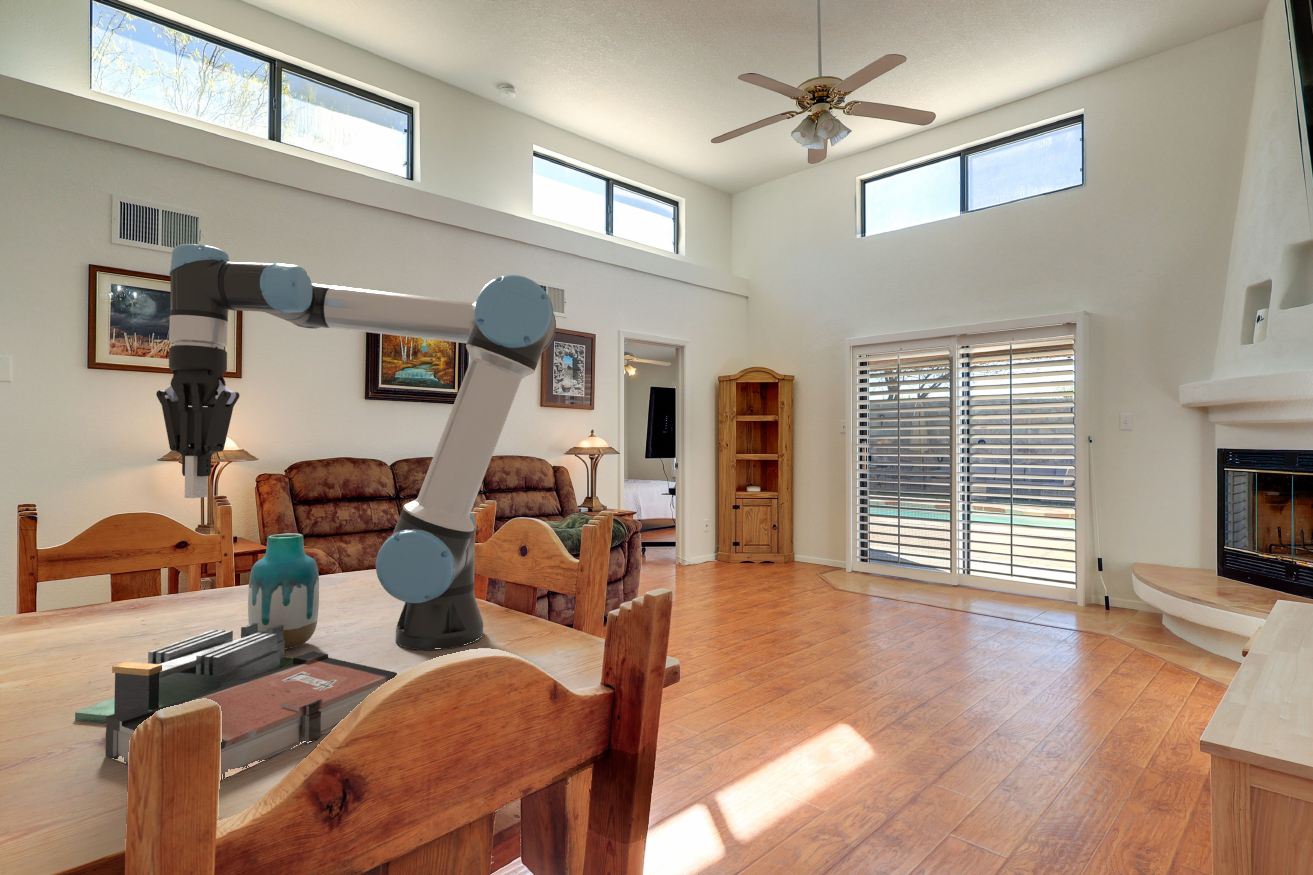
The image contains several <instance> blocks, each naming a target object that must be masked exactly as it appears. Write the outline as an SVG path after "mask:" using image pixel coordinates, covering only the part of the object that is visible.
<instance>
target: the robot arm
mask: <svg viewBox="0 0 1313 875" xmlns="http://www.w3.org/2000/svg"><path fill="white" fill-rule="evenodd" d="M170 262H171V263H170V269H169V273H168V274H169V278H170V312H169V313H170V315H169V328H168V329H169V331H168V341H169V342H170V343H172V344H173V345H171V346H170V347H168V368H169V370H171V371H172V374H173V375H172V377H171V380H170V386H168V388H165V390H157V391H156V394H155V395H156V398H157V400H158V401H159V403H160V405H161V409H162V414H163V418H164V423H165V424H164V425H165V429H166V435H167V441H168V445H169V449H170V451H171V452H177V453H179V454H180V455H181V458H182V459H181V460H182V461H181V462H182V463H181V475H182V476H183V477H184V499H197V498H199V499H200V498H207V497H208V484H209V480H208V479H209V477H210V476H211V473H212V456H213V455H214V454H216V453H218V452H223V451H224V449H225V445H226V441H227V436H228V432H229V429H230V428H229V427H230V423H231V419H232V416H233V410H234V407H235V405H236V403H237V402H238V400H239V399H240V396H241V395H240V393H239V392H238V391H234V390H233V391H232V390H231V389H229V388H228V387H227V386H226V385H227V384H226V380H225V379H224V374H225V373H226V372H227V371H228V352H227V350H225V349H224V348H225V347H227V346H228V321H229V319H228V318H229V317H228V316H229V311H234V312H235V311H237V312H239V311H243V312H245V311H246V312H260V313H261V312H262V313H266V314H269V315H271V316H274V317H277V318H279V319H281V320H284V321H286V322H288V323H289V322H290V323H292V324H293V325H295V326H297V327H301V328H305V329H314V330H315V329H320V328H323V329H324V328H325V329H328V328H329V329H336V330H338V329H339V330H346V331H354V332H364V333H372V334H379V335H380V334H382V335H389V336H390V335H392V336H397V337H398V336H399V337H405V338H406V337H408V338H416V339H417V338H418V339H426V340H435V341H441V342H442V341H443V342H444V341H445V342H452V343H460V344H466V345H465V347H466V348H465V349H466V350H467V352H468V354H469V357H470V362H469V364H468V367H467V369H466V371H465V374H464V376H463V380H462V382H461V385H460V386H459V387H460V388H459V389H458V392H457V395H456V397H455V400H454V403H453V405H452V408H451V411H450V413H449V415H448V418H447V420H446V423H445V425H444V428H443V431H442V434H441V435H440V436H441V437H440V439H439V441H438V444H437V447H436V449H435V451H434V455H433V457H432V459H431V462H430V464H429V466H428V470H427V472H426V475H425V477H424V480H423V482H422V485H421V488H420V490H419V493H418V495H417V498H416V499H414V500H412V501H410V502H407V503H405V504H404V505H403V507H402V509H401V512H400V514H399V516H398V520H397V522H396V524H395V527H394V529H393V532H392V535H390V536H388V538H387V539H386V540H385V541H384V542H383V544H382V545H381V546H380V549H379V550H378V553H377V556H376V558H375V571H376V578H377V579H378V580H379V584H380V585H381V586H382V588H383V590H385V592H386V593H387V594H389V595H390V596H391V597H392V598H395V599H396V600H398V601H401V602H403V603H404V604H403V607H402V610H401V612H400V615H399V618H398V621H397V624H396V627H395V643H396V644H398V645H399V646H400V647H403V648H407V649H414V650H425V649H426V651H427V649H435V648H441V649H440V650H446V649H445V648H447V649H453V648H459V647H463V646H465V645H464V644H467V643H470V642H473V641H475V640H476V639H478V638H480V637H481V636H482V635H483V636H484V620H483V618H482V614H481V611H480V609H479V606H478V602H477V599H476V595H475V557H476V556H475V555H476V553H475V550H476V545H475V544H476V543H475V542H476V531H477V526H476V518H475V515H474V514H473V512H472V509H473V507H474V505H475V502H476V499H477V497H478V494H479V491H480V489H481V486H482V484H483V481H484V478H485V476H486V474H487V470H488V467H489V465H490V463H491V460H492V457H493V455H494V452H495V449H496V447H497V444H498V442H499V439H500V436H501V434H502V431H503V429H504V426H505V424H506V421H507V418H508V416H509V413H510V411H511V408H512V406H513V402H514V400H515V397H516V395H517V392H518V390H519V387H520V385H521V382H522V380H523V379H524V378H526V377H528V376H530V375H532V374H534V373H535V371H536V369H537V366H538V363H539V361H540V358H541V356H542V354H543V352H544V351H545V350H547V349H548V348H549V346H550V344H552V342H553V339H554V337H555V335H556V330H557V321H556V317H555V312H554V307H553V303H552V300H551V297H550V295H549V294H548V293H547V292H546V291H545V289H544V288H542V286H540V285H539V284H538V283H537V282H536V281H534V280H533V279H531V278H528V277H526V276H524V275H518V274H506V275H502V276H499V277H497V278H494V279H492V280H490V281H489V282H488V283H486V284H485V285H484V286H483V288H482V289H481V290H480V292H479V293H478V295H477V298H476V301H468V300H467V301H466V300H460V299H450V298H442V297H434V296H433V297H432V296H426V295H425V296H423V295H417V294H416V295H415V294H406V293H399V292H391V291H390V292H389V291H384V290H383V291H381V290H373V289H364V288H356V287H355V288H354V287H348V286H347V287H346V286H338V285H327V284H321V283H319V284H318V283H313V282H312V281H311V278H310V276H309V275H308V273H307V272H308V271H307V270H306V269H305V268H303V267H302V266H300V265H297V264H287V263H283V262H273V263H268V262H265V263H264V262H243V261H241V262H239V261H238V262H236V261H235V262H234V261H230V256H229V254H228V253H227V252H226V251H225V250H223V249H220V248H218V247H214V246H210V245H201V244H196V243H182V244H178V245H176V246H174V248H173V249H172V252H171V261H170ZM483 636H482V637H483ZM482 637H481V638H482ZM481 638H480V639H481ZM475 642H476V641H475ZM473 643H474V642H473ZM470 644H471V643H470ZM462 645H463V646H462ZM467 645H468V644H467ZM458 646H459V647H458ZM435 650H436V649H435Z"/></svg>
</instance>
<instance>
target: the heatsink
mask: <svg viewBox="0 0 1313 875" xmlns="http://www.w3.org/2000/svg"><path fill="white" fill-rule="evenodd" d="M283 626H284V625H276V626H274V627H271V628H268V629H267V633H264V634H262V633H258V623H251V624H249V623H248V624H246V625H244V626H243V625H242V626H241V627H240V638H238V639H239V640H237V639H236V640H237V641H234V631H233V630H226V629H215V628H214V629H211V630H208V631H206V632H201V633H200V634H196V635H194V636H190V637H187V638H185V639H182V640H179V641H176V642H173V643H170V644H167V645H165V646H162V647H158V648H155V649H152V650H150V651H147V659H148V660H147V663H146V662H145V663H144V662H137V661H136V662H135V661H123V662H120V663H118V664H115V665H113V666H112V667H111V670H112V671H111V673H112V674H114V696H113V697H112V698H108V699H106V700H103V701H101V702H99V703H96V704H94V705H90V706H88V707H86V708H84V709H80V710H78V711H75V712H74V721H79V722H88V723H96V724H97V723H99V724H104V725H106V716H109V715H112V714H115V713H118V712H122V711H125V710H128V709H131V708H134V707H138V706H140V707H143V708H147V709H150V710H155V709H158V708H161V707H164V706H167V705H170V704H173V703H176V702H179V701H182V700H185V699H188V698H191V697H194V696H198V695H201V694H204V693H207V692H210V691H213V690H216V689H219V688H222V687H225V686H228V685H231V684H234V683H237V682H241V681H244V680H247V679H250V678H253V677H256V676H259V675H262V674H265V673H268V672H271V671H274V670H277V669H280V668H283V667H287V666H290V665H293V657H285V650H286V649H285V640H283ZM244 637H245V638H244ZM241 638H242V639H241ZM231 641H234V642H231ZM228 642H231V643H229V644H226V645H223V646H221V647H218V648H215V649H213V650H210V651H207V652H205V653H202V654H199V655H197V656H196V666H194V667H191V668H188V669H185V670H183V671H180V672H177V673H174V674H171V675H168V676H165V677H162V678H159V672H161V671H162V665H160V664H161V663H165V662H168V661H171V660H174V659H177V658H180V657H184V656H187V655H190V654H193V653H196V652H199V651H203V650H206V649H209V648H212V647H215V646H218V645H222V644H225V643H228Z"/></svg>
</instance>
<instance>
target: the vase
mask: <svg viewBox="0 0 1313 875" xmlns="http://www.w3.org/2000/svg"><path fill="white" fill-rule="evenodd" d="M266 540H267V541H266V548H265V549H266V551H265V554H264V556H262V558H261V559H259V560H256V562H255V563H254V564H253V566H252V567H251V570H250V574H249V580H248V581H249V582H248V593H247V594H248V597H247V617H248V618H247V620H248V624H251V623H258V633H262V634H264V633H267V629H268V628H271V627H274V626H276V625H284V626H283V640H285V649H284V650H288V649H292V648H296V647H298V646H302V645H303V644H305V643H306V642H308V641H309V640H310V639H311V638H312V637H313V635H314V633H315V631H316V628H317V626H318V625H317V624H318V620H319V619H318V618H319V617H318V616H319V607H320V576H319V568H318V567H319V566H318V563H317V562H316V560H315V559H314V558H313V557H312V556H308V554H306V551H305V546H304V535H303V534H302V533H280V534H279V533H278V534H271V535H269V536H267V539H266Z"/></svg>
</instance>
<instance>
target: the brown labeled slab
mask: <svg viewBox="0 0 1313 875" xmlns="http://www.w3.org/2000/svg"><path fill="white" fill-rule="evenodd" d="M292 658H293V665H290V666H287V667H283V668H280V669H277V670H274V671H271V672H268V673H265V674H262V675H259V676H256V677H253V678H250V679H247V680H244V681H241V682H237V683H234V684H231V685H228V686H225V687H222V688H219V689H216V690H213V691H210V692H207V693H204V694H201V695H198V696H194V697H191V698H188V699H185V700H182V701H179V702H176V703H173V704H170V705H167V706H164V707H161V708H158V709H155V710H150V709H147V708H143V707H140V706H138V707H134V708H131V709H128V710H125V711H122V712H118V713H115V714H112V715H109V716H106V724H105V757H106V758H109V759H111V758H114V759H118V757H119V756H122V758H123V757H124V762H126V764H125V765H126V766H129V765H128V752H129V740H130V737H131V735H132V734H133V733H134V731H135V729H136V728H137V726H138V725H139V724H141V723H142V722H143V721H144V720H146V719H147V718H149V717H150V716H152V715H153V714H154V713H155V712H156V711H158V710H160V709H163V708H166V707H170V706H174V705H179V704H183V703H185V702H189V701H192V700H196V699H202V698H207V699H211V700H213V701H215V702H217V703H218V704H219V705H220V706H221V711H222V742H221V781H220V782H222V781H223V780H222V774H223V779H224V778H225V772H228V769H230V770H231V769H235V768H240V767H243V768H244V767H245V766H246V767H245V768H247V766H248V764H250V763H253V762H255V761H258V760H259V761H258V762H260V761H262V760H267V759H269V760H271V759H273V758H275V757H278V756H279V755H282V754H284V753H286V752H288V750H289V749H291V748H293V747H294V746H296V745H299V744H300V742H301V743H302V742H303V741H306V742H309V741H313V740H315V741H317V740H319V738H321V737H322V736H324V735H327V734H328V733H330V731H331V730H332V729H333V728H334V727H335V726H336V725H337V724H338V723H339V722H340V721H341V720H342V719H344V718H345V717H346V716H347V715H348V714H349V713H350V711H352V710H353V709H354V708H355V707H356V706H357V705H358V704H360V702H362V701H363V700H364V699H365V698H366V697H367V696H368V695H369V694H371V693H372V692H373V691H375V690H376V689H377V688H378V687H380V686H381V685H382V684H384V683H385V682H387V681H388V680H390V679H392V678H394V677H395V676H396V675H397V676H398V672H396V671H390V670H386V669H382V668H378V667H374V666H369V665H363V664H359V663H355V662H350V661H346V660H341V659H336V658H332V657H329V654H328V653H324V652H320V651H316V650H312V651H309V652H306V653H303V654H299V655H296V656H294V657H292ZM331 732H332V731H331ZM313 742H314V741H313ZM293 749H294V748H293ZM291 750H292V749H291ZM289 751H290V750H289ZM277 755H278V756H277ZM272 757H273V758H272ZM270 758H271V759H270ZM267 761H268V760H267ZM248 767H249V766H248ZM243 768H242V769H243ZM224 780H225V779H224Z"/></svg>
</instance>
